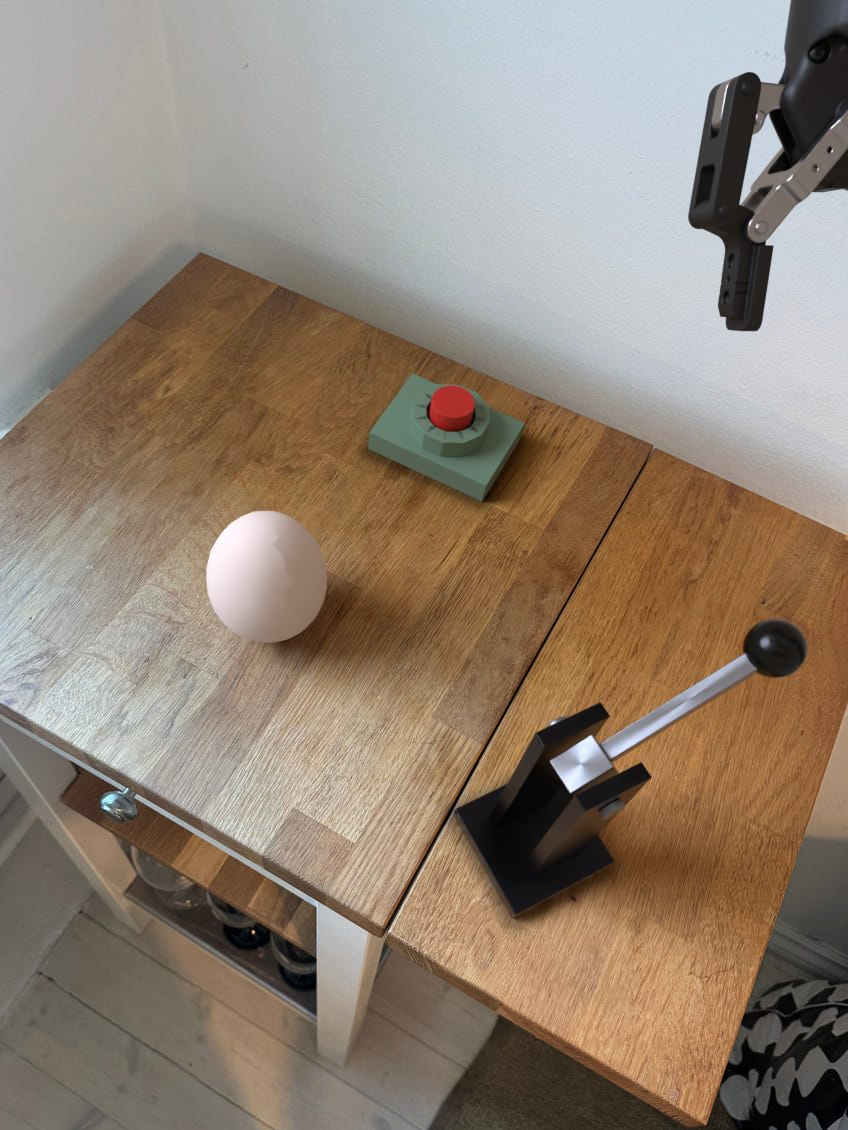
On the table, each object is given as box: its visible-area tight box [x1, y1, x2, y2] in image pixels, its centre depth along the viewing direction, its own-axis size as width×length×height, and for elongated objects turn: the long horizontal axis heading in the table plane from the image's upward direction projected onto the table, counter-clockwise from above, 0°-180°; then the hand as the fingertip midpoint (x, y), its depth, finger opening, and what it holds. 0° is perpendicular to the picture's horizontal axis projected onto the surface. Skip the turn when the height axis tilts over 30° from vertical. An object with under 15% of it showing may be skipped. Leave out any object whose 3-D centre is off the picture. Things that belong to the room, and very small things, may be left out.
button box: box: [367, 373, 526, 503], centre depth 79 cm, size 8×11×4 cm
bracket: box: [452, 701, 652, 919], centre depth 57 cm, size 8×8×16 cm
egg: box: [205, 510, 328, 644], centre depth 66 cm, size 9×9×12 cm
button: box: [429, 384, 475, 432], centre depth 77 cm, size 4×4×2 cm
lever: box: [550, 618, 808, 796], centre depth 51 cm, size 15×3×3 cm, turn 117°
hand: (826, 331), depth 44 cm, fingers open, 8 cm apart
